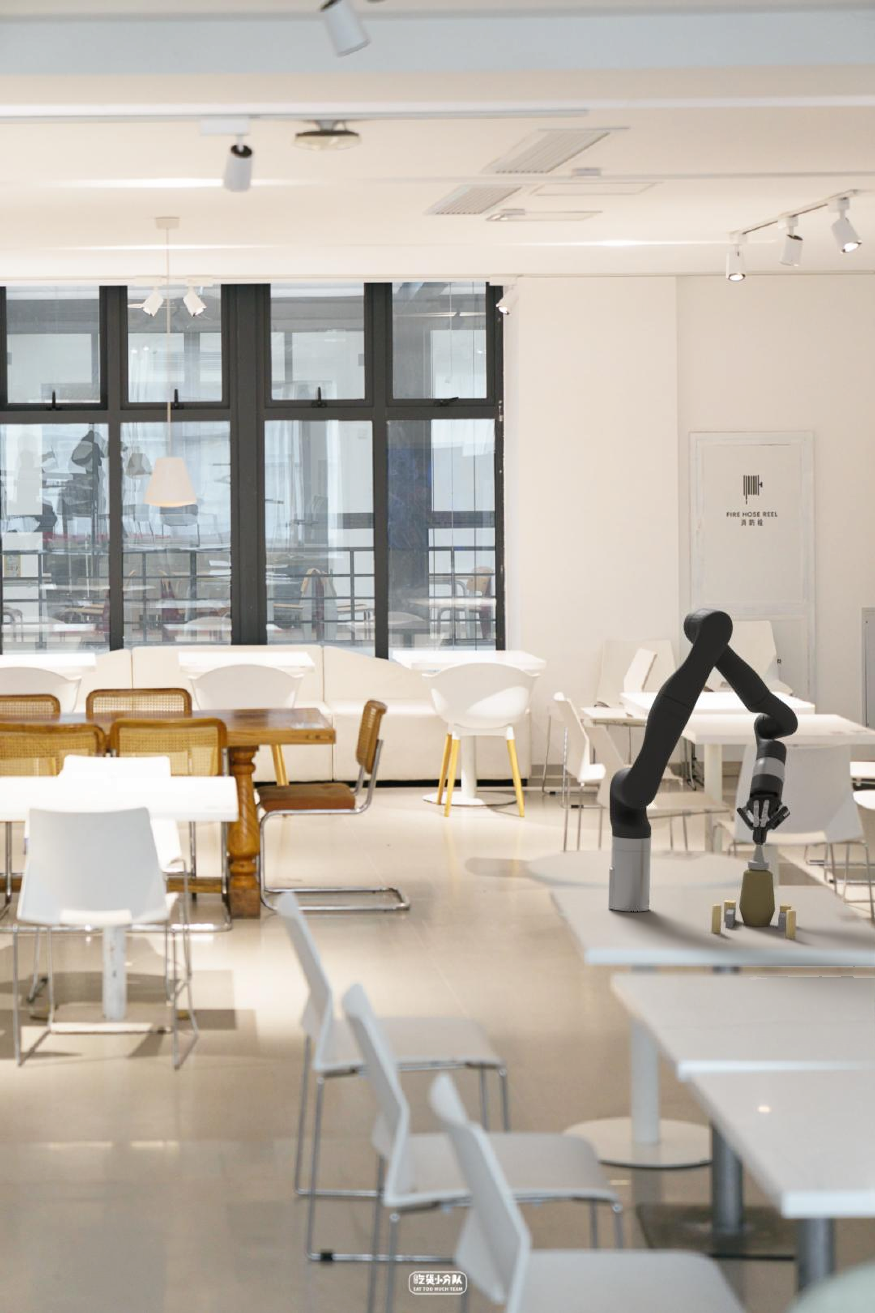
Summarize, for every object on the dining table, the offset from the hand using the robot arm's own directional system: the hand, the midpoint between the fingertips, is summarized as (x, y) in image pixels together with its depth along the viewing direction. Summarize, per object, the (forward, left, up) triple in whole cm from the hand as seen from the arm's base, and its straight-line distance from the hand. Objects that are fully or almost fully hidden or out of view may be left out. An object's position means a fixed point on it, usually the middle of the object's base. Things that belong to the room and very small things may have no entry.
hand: (758, 843), depth 356 cm
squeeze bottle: (+1, -10, -17) cm, 20 cm away
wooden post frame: (+1, -15, -17) cm, 23 cm away
